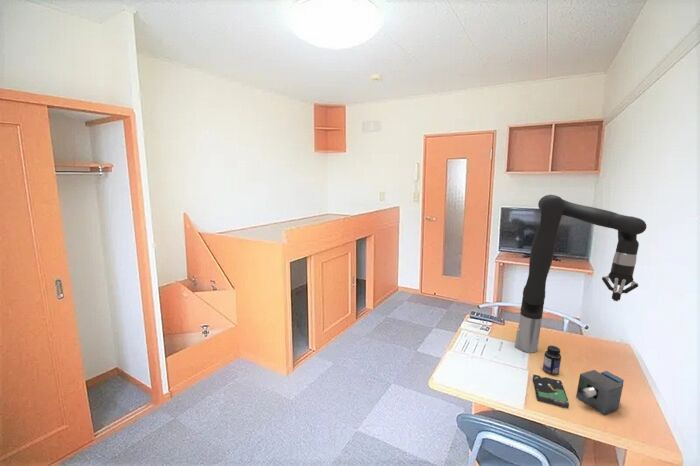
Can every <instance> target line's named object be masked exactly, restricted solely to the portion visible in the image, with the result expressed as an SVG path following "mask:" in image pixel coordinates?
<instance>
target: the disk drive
mask: <svg viewBox="0 0 700 466" xmlns="http://www.w3.org/2000/svg"><path fill="white" fill-rule="evenodd" d="M532 383H533V387H534V391H535V397H536V401H537V402H540V403H545V404H547V405H553V406H557V407H560V408H564V409H569V407H570V404H569V399H568V396H567V393H566V391H565V387H564V386H563V385H564V383H563V382H562V380H559V379H555V378H551V377H546V376H545V377H544V376H543V377H541V376H540V375H538V374H532Z"/></svg>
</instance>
